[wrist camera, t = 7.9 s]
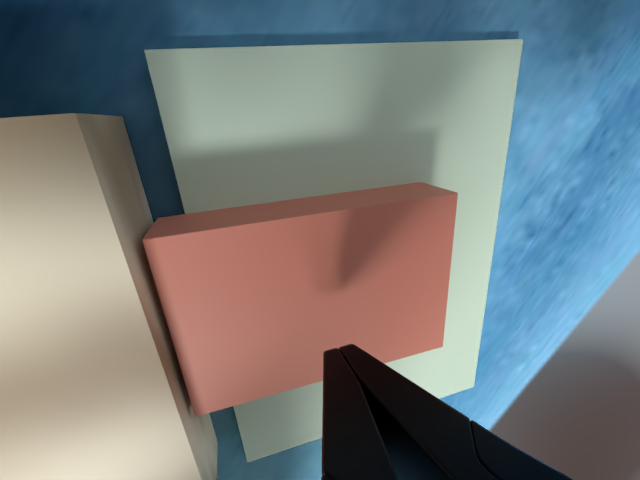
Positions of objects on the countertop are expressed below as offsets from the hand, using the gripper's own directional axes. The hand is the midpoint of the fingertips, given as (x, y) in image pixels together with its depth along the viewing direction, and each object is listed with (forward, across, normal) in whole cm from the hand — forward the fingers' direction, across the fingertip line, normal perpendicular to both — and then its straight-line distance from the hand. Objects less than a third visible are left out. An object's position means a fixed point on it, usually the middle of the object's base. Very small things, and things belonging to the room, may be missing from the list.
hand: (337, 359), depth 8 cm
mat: (+4, -3, 0) cm, 5 cm away
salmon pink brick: (+3, 0, -1) cm, 3 cm away
